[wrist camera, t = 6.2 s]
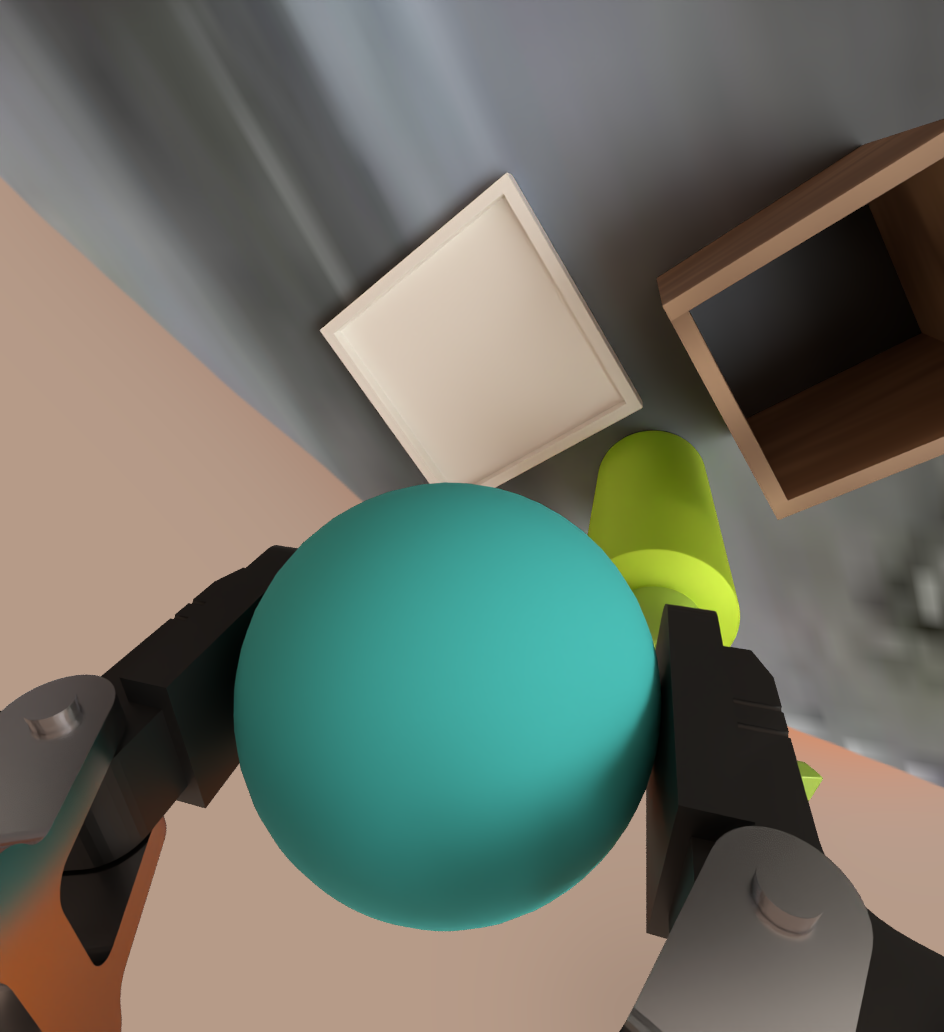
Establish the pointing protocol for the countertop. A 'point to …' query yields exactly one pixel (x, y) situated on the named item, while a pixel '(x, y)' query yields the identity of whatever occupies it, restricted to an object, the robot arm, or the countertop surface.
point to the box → (868, 385)
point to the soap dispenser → (667, 535)
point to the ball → (447, 706)
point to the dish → (483, 348)
